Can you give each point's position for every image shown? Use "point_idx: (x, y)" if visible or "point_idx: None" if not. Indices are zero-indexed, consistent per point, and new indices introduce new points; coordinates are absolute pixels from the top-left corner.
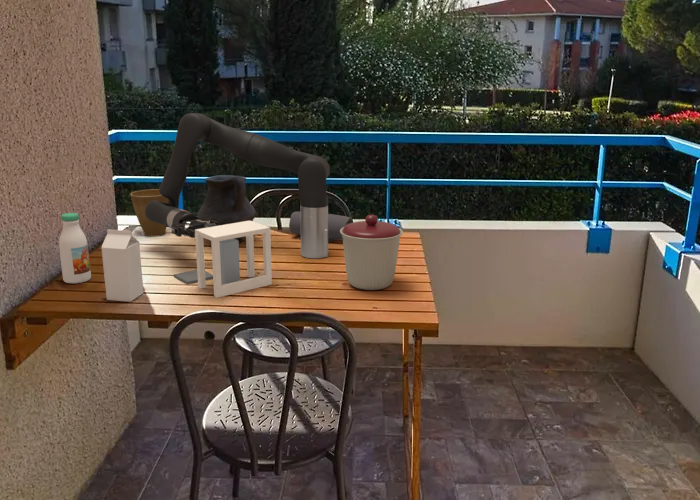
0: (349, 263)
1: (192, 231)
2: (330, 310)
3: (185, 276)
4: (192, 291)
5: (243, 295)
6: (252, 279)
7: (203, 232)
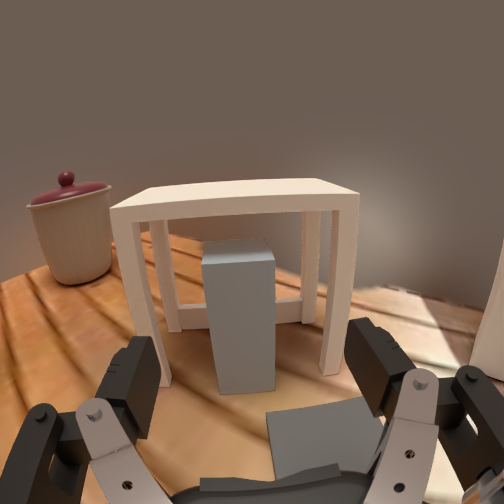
0: (105, 235)
1: (365, 317)
2: (190, 253)
3: (366, 441)
4: None
5: None
6: None
7: (334, 186)
